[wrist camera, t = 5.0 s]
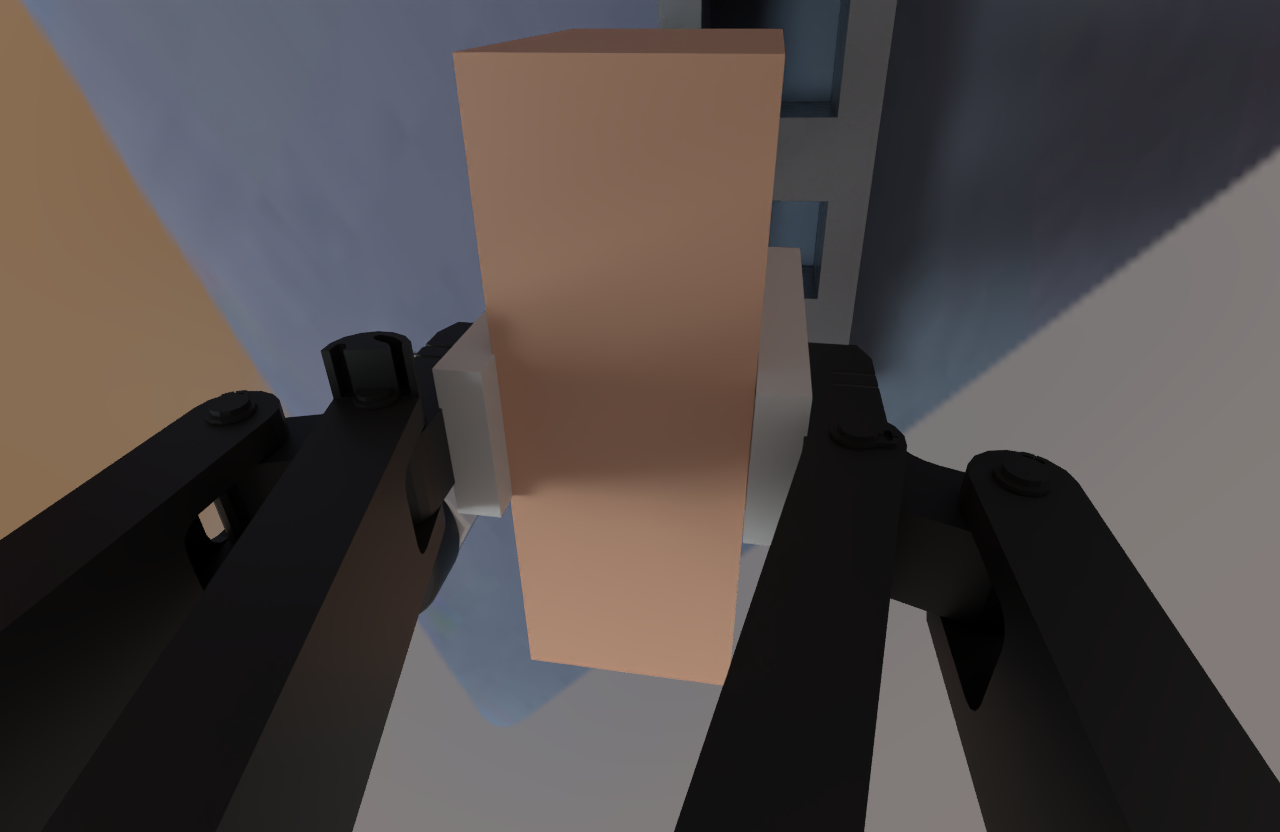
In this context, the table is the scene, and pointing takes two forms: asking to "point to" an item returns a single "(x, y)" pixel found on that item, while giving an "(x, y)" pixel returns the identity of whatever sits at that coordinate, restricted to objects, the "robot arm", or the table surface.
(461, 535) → the jar
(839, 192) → the grey slotted block
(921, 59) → the table surface
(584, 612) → the orange tan block
